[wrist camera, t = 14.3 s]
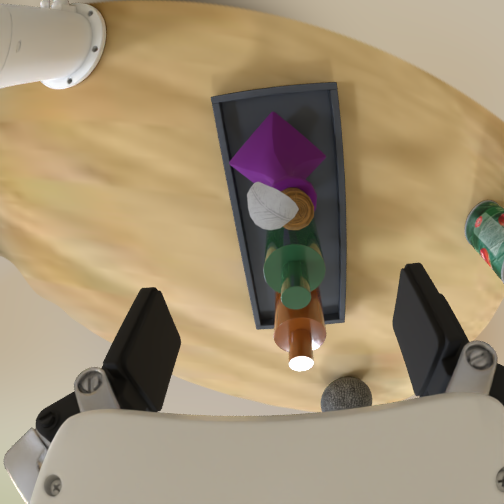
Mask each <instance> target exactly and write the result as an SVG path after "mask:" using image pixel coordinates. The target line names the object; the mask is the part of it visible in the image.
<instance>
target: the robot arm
mask: <svg viewBox="0 0 504 504" xmlns="http://www.w3.org/2000/svg"><path fill="white" fill-rule="evenodd" d="M105 41H106V26H105V22H104V19H103V17H102V15H101V13H100V12H99V11H98V10H97V9H96V8H94V7H93V6H91V5H88V4H84V3H72V4H69V1H68V0H53V4H52V5H51V9H50V0H43V1H41V7H34V6H25V5H12V4H0V88H4V87H8V86H13V85H19V84H24V83H30V82H36V81H41V82H42V83H43V84H44V85H45V86H47V87H50V88H53V89H64V88H69V87H72V86H74V85H77V84H78V83H80V82H81V81H83V80H84V79H85V78H86V77H87V76H88V75H89V74H90V73H91V72H92V71H93V69H94V68H95V66H96V65H97V63H98V62H99V60H100V57H101V55H102V53H103V49H104V46H105ZM97 49H98V50H97ZM393 329H394V332H395V335H396V337H397V340H398V343H399V346H400V349H401V352H402V355H403V358H404V361H405V364H406V367H407V370H408V373H409V377H410V380H411V383H412V386H413V390H414V393H415V395H416V396H420V397H419V398H415V399H409V400H404V401H398V402H393V403H387V404H380V405H374V406H368V407H361V408H354V409H346V410H338V411H329V412H318V413H306V414H292V415H272V416H206V415H186V414H172V413H159V412H158V411H160V410H161V409H162V406H163V402H164V399H165V395H166V392H167V389H168V385H169V382H170V378H171V375H172V372H173V368H174V365H175V362H176V358H177V355H178V352H179V349H180V345H181V339H180V336H179V333H178V331H177V329H176V326H175V324H174V322H173V319H172V317H171V315H170V312H169V310H168V307H167V305H166V302H165V300H164V297H163V295H162V293H161V291H158V290H157V289H156V288H155V287H151V288H142V289H141V290H140V291H139V293H138V295H137V297H136V299H135V301H134V302H133V304H132V306H131V308H130V310H129V312H128V314H127V316H126V318H125V319H124V321H123V323H122V325H121V327H120V329H119V331H118V333H117V335H116V337H115V339H114V341H113V343H112V345H111V347H110V349H109V351H108V353H107V355H106V358H105V359H104V362H103V366H102V368H98V367H91V368H88V369H86V370H84V371H83V372H81V373H80V374H79V375H78V377H77V378H76V380H75V383H74V390H75V391H74V392H72V393H71V394H69V395H67V396H66V397H64V398H62V399H60V400H59V401H57V402H55V403H53V404H52V405H50V406H48V407H47V408H45V409H43V410H42V411H41V412H40V414H39V415H38V417H37V419H36V429H33V428H31V429H30V430H28V431H27V432H26V433H25V434H24V436H22V437H21V438H20V439H19V440H18V441H17V442H16V443H15V444H14V445H13V446H12V447H11V448H10V449H9V450H8V451H7V453H6V454H5V457H4V466H5V469H6V470H7V472H8V474H9V476H10V478H11V479H12V481H13V483H14V485H15V486H16V488H17V490H18V491H19V493H20V495H21V496H22V498H23V500H24V501H25V503H26V504H504V366H502V365H500V364H498V363H497V354H496V352H495V350H494V349H493V348H492V347H491V346H490V345H489V344H487V343H485V342H483V341H471V342H469V341H468V339H467V337H466V335H465V333H464V331H463V329H462V327H461V325H460V324H459V322H458V320H457V318H456V316H455V314H454V313H453V311H452V309H451V307H450V306H449V304H448V302H447V300H446V299H445V297H444V296H443V295H442V294H439V292H438V290H437V289H436V287H435V285H434V284H433V282H432V280H431V279H430V277H429V275H428V274H427V272H426V271H425V269H424V267H423V266H422V264H421V263H412V264H406V265H405V268H402V269H401V272H400V279H399V286H398V292H397V299H396V305H395V310H394V316H393Z"/></svg>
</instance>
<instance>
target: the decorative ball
mask: <svg viewBox="0 0 504 504" xmlns="http://www.w3.org/2000/svg"><path fill="white" fill-rule="evenodd" d="M368 406H372V394H371V391H370V389H369V387H368V386H367V385H366V384H365V383H364V382H363V381H361V380H359V379H357V378H353V377H344V378H340V379H337V380H335V381H334V382H332V383H331V384H330V385H329V386H328V387H327V388H326V389H325V391H324V393H323V395H322V398H321V409H322V412H329V411H338V410H346V409H354V408H361V407H368Z"/></svg>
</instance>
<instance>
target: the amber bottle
mask: <svg viewBox="0 0 504 504" xmlns="http://www.w3.org/2000/svg"><path fill="white" fill-rule="evenodd" d="M325 338H326V327H325V320H324V313H323V306H322V299H321V293H320V287H319V286H318V287H317V288H316V289H315V290H313V291H311V301H310V303H309V304H308V305H307V306H306V307H304V308H302V309H297V310H294V309H289V308H287V307H286V306H284V305H283V303H282V301H281V294H280V293H278V292H276V291H275V315H274V341H275V343H276V344H277V345H278V346H279V347H280V348H281V349H283V350H285V351H287V352H289V366H290V368H292V369H293V370H296V371H304V370H308V369H310V368H311V367H312V366H313V364H314V361H313V350H315V349H317V348H318V347H319V346H321V345H322V344H323V342H324V341H325Z"/></svg>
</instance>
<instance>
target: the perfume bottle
mask: <svg viewBox="0 0 504 504" xmlns="http://www.w3.org/2000/svg"><path fill="white" fill-rule="evenodd" d="M325 158H326V155H325V154H324V153H323V152H322V151H320V150H319V149H318V148H317V147H316V146H315V145H314V144H312V143H311V142H310V141H309V140H308V139H307V138H306V137H304V136H303V135H302V134H301V133H300V132H299V131H297V130H296V129H295V128H294V127H293V126H291V125H290V124H289V123H288V122H287V121H285V120H284V119H283V118H282V117H280V116H279V115H278V114H277V113H275V112H271V113H270V114H269V115H268V116H267V118H266V119H265V120H264V121H263V122H262V123H261V125H260V126H259V127H258V128H257V129H256V130H255V132H254V133H253V134H252V135H251V136H250V137H249V139H248V140H247V141H246V142H245V143H244V145H243V146H242V147H241V148H240V149H239V151H238V152H237V153H236V154H235V155H234V157H233V158H232V159H231V160H230V162H229V164H230V165H231V166H232V167H233V168H235V169H236V170H237V171H239V172H240V173H241V174H243V175H244V176H245V177H247V178H248V179H249V180H250V181H252V182H253V183H254V184H253V185H252V187H251V188H250V190H249V192H248V194H247V200H248V210H249V214H250V217H251V218H252V220H253V221H254V223H255V224H256V225H258V226H259V227H261V228H262V229H267V230H274V229H279V228H281V227H285V228H286V229H288V230H300V229H302V228H304V227H306V226H308V225H309V223H310V222H311V220H312V219H313V217H314V211H315V210H316V205H317V193H316V191H315V189H314V187H313V186H312V184H311V183H310V182H309V181H307V180H305V179H306V178H307V177H308V176H309V175H310V174H311V173H312V172H313V171H314V170H315V169H316V168H317V167H318V166H319V165H320V164H321V162H322V161H323V160H324V159H325Z"/></svg>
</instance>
